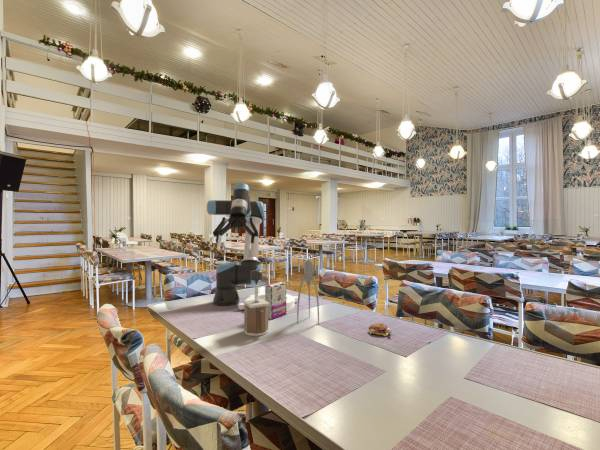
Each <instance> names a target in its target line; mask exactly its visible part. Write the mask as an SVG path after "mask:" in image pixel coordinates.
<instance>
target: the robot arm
mask: <svg viewBox="0 0 600 450" xmlns="http://www.w3.org/2000/svg"><path fill="white" fill-rule="evenodd" d="M264 206H265V205H264V203H263V202H262V201H258V200H253V201H252V200H250V187H249V185H248V184H246V183H244V182H238V183H236V184H235V185H234V188H233V193H232V199H230V200H229V199H228V200H221V199H217V200H216V199H212V200H211V199H210V200H208V201H207V203H206V212H207V214H208V215H209V216H210V215H211V216H212V215H213V216H224V217H222V219H221V221H220V222H219V224H218V225H217V226H216V228H214V230H213V231H212V235H213V237H215V243H216V249H217V251H218V252H219V251H221V246H222V239H223V238H222V236H224V235H225V234H226V233H227V232H228V231H229V230H231V229H232V228H234V229H236V228H237V229H238V228H239V229H241V228H242V229H244V230H245V234H244V236H245V237H244V248H243V250H244V251H243V252H244V253H243V259H242V260H241V261H240V264H238V263H237V262H235V261H231V262H224V263H220V264H218V265H217V266H216V272H215V274H216V275H215V280H216V286H215V287H216V288H215V289H216V290H215V292H214V293H215V294H214V296H213V299H212V300H213V301H212V304H214V305H215V304H217V305H216V306H233V305H237V304H239V303H240V302H239V301H240V300H241V299H240V296H239V293H238V289H237V285H238V286H240V285H241V286H245V285H247V286H248V285H250V286H253V285H254V286H255V280H251V271H252V270H262V271H263V267H264V266H263V265H262V264H261V261H260V260H259V248H260V247H259V245H260V225H261V224H262V223H263V220H265V217H266V216H265V215H266V214H265V208H264ZM225 216H226V217H228V218H226V217H225ZM261 282H262V281H261V280H258V285H259V284H260V283H261ZM236 303H237V304H236ZM232 304H233V305H232Z"/></svg>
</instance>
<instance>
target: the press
mask: <svg viewBox="0 0 600 450" xmlns="http://www.w3.org/2000/svg"><path fill="white" fill-rule="evenodd" d="M242 303H244V304H245V305H244V309H243V310H244V311H243V312H244V315H243V316H244V317H243V318H244V322H243V323H244V325H243V327H244V329H243V331H244V332H243V333H244V335H246V336H249V337H261V336H264V335H267V334H268V333H269V319H268V306H269V305H270V303H269V302H267V301H265V300H263V299H258V303H255V300H248V301H245V300H243V302H242Z"/></svg>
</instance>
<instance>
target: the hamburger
mask: <svg viewBox="0 0 600 450" xmlns="http://www.w3.org/2000/svg"><path fill="white" fill-rule="evenodd" d="M368 330H369V331H368V333H369V334H370V335H371V334H372V333H373V335H375V334H376V335H375V336H384V337H385V336H388V335H389V334H392V330H390V327H389V326H387V325H386V324H385V323H381V322H379V323H373V324H370V326H369V327H368ZM389 337H390V336H389ZM389 337H387V338H389Z"/></svg>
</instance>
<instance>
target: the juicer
mask: <svg viewBox="0 0 600 450" xmlns="http://www.w3.org/2000/svg"><path fill="white" fill-rule="evenodd" d="M313 263H314V262H313V261H312V260H311V259H309V258H308V259H306V260H305V262H304V265H303V266H304V267H303V268H304V269H303V271H304V272H303V273H304V276H301V280H300V285H299V290H298V295H297V297H298V302H297V308H296V315H297V316H296V323H297V324H299V311H300V299H301V291H302V288H303V285H304V281H305V282H306V286H307V288H308V289H307V290H308V291H307V292H308V293H307V295H308V318H309V319H310V316H311V315H310V314H311V285H312V284H311V283H312V281H313V286H314V289H315V297H316V306H317V324H320V305H319V304H320V303H319V293H318V286H317V282H316V277H315V276H313V274H314V273H313V272H314V271H313V270H314V264H313Z"/></svg>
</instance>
